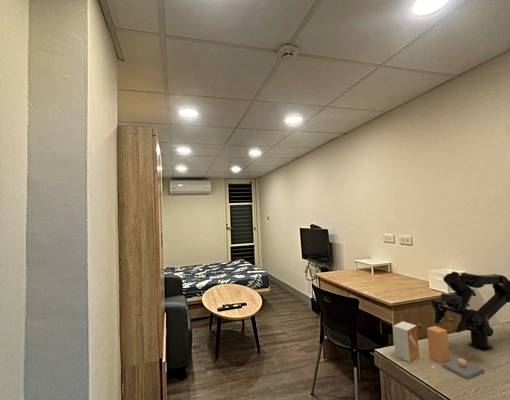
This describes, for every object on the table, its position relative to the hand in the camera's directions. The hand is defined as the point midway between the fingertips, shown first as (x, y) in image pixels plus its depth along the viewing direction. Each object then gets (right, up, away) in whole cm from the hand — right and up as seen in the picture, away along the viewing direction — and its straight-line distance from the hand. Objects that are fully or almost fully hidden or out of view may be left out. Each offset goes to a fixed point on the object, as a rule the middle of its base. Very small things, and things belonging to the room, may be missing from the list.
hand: (446, 327), depth 114 cm
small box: (-16, -13, +1) cm, 21 cm away
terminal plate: (-1, -11, -11) cm, 16 cm away
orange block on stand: (-4, -12, -3) cm, 13 cm away
